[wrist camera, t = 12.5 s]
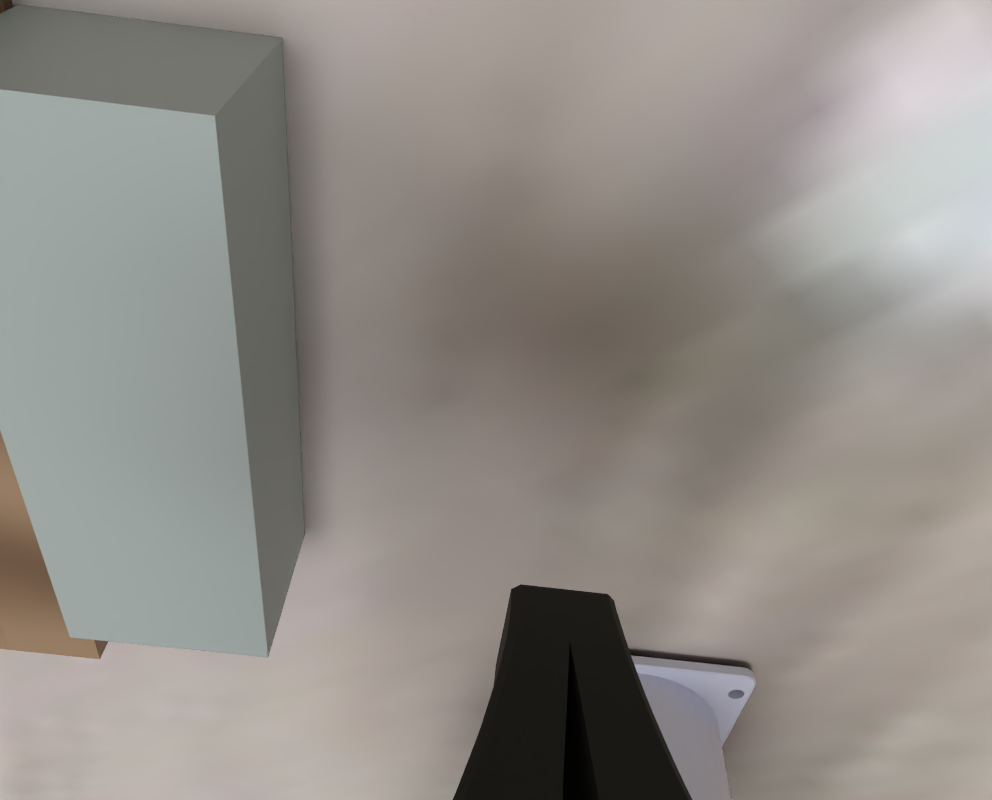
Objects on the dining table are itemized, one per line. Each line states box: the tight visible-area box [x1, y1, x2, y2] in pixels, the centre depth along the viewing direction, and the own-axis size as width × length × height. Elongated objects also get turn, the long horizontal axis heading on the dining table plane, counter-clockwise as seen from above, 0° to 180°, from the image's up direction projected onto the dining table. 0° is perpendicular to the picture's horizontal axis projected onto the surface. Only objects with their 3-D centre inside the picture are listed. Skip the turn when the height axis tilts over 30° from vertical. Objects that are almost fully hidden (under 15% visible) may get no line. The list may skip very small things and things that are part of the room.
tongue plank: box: [0, 4, 305, 657], centre depth 19 cm, size 14×6×4 cm, turn 174°
